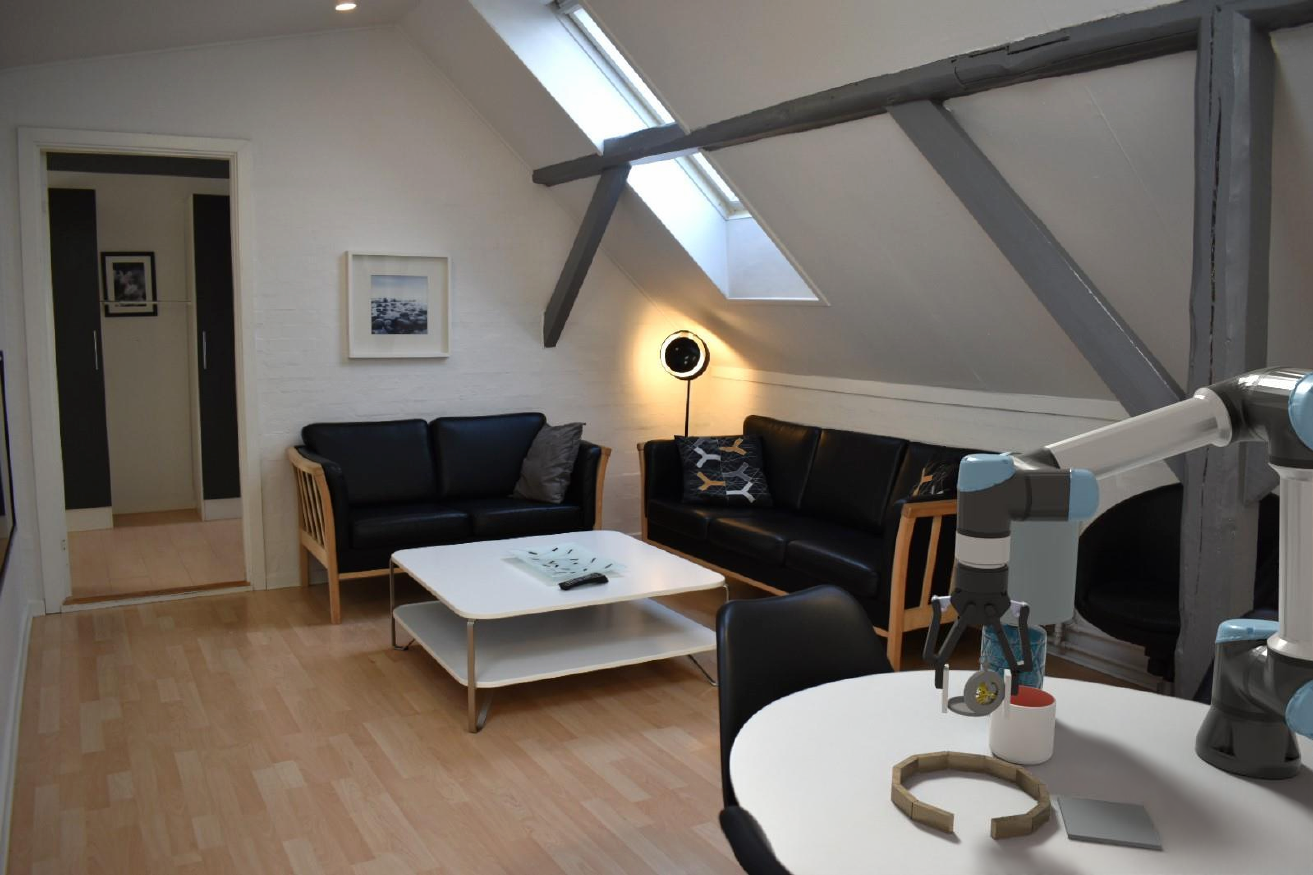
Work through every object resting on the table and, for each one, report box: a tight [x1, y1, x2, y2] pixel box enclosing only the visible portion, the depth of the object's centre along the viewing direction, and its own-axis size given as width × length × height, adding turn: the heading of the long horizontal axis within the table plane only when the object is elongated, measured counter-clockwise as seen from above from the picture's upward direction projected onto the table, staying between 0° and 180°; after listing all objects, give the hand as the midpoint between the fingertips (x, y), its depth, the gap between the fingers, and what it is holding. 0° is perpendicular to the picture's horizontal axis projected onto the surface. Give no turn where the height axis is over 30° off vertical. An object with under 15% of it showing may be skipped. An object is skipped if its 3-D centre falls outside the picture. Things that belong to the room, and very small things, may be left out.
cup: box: [988, 686, 1057, 766], centre depth 174 cm, size 10×10×10 cm
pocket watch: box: [947, 654, 1005, 718], centre depth 156 cm, size 8×8×10 cm
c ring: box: [890, 750, 1052, 840], centre depth 158 cm, size 22×22×2 cm
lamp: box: [980, 521, 1081, 701], centre depth 191 cm, size 19×19×38 cm
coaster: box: [1056, 794, 1163, 851], centre depth 152 cm, size 12×12×1 cm
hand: (974, 712), depth 157 cm, fingers closed on pocket watch, 8 cm apart
